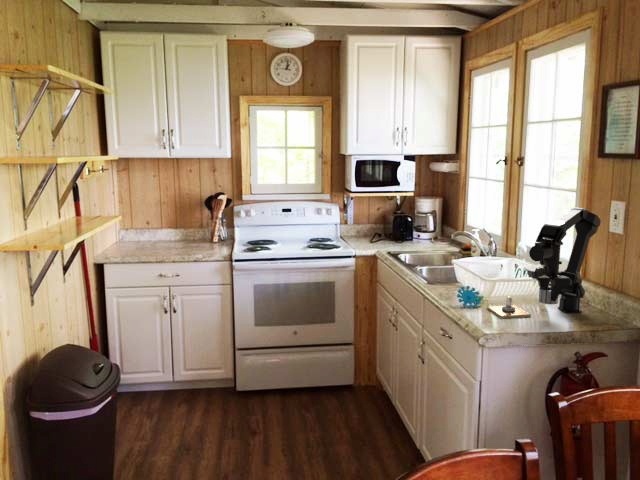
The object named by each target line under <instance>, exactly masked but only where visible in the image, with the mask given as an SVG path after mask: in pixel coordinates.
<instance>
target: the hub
mask: <svg viewBox="0 0 640 480" xmlns="http://www.w3.org/2000/svg"><path fill="white" fill-rule="evenodd" d="M538 289H539V291H538V292H539V293H538V302H539V303H541V304H544V305H557V304H559V303H558V302H559V296H558V297H557V299H556V301H552V296H551V287H550V286H548V287H540V286H539V288H538Z"/></svg>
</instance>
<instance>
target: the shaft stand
mask: <svg viewBox="0 0 640 480" xmlns="http://www.w3.org/2000/svg"><path fill="white" fill-rule="evenodd" d="M505 299H506V300H505V301H506V302H505V305H491V306H487V307H486V309H487V310H488V311H489V312H491V313H492V314H493V315H496V316H497V317H498V318H500V319H510V318H511V319H513V318H514V319H515V318H531V317H532V314H531V313H530V312H528V311H526V310H525V309H523V308H521V307H520V306H517V305H516V304H513V305H512V303H513V301H512V300H513V298H512V296H506V298H505Z"/></svg>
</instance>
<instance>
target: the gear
mask: <svg viewBox="0 0 640 480" xmlns="http://www.w3.org/2000/svg"><path fill="white" fill-rule="evenodd" d="M470 288H471V286H470V285H466V287H465V286H461V287H460V289H458V290H457V294H456V298H459V299H458V302H459V303H462V302H463V303H462V306H463V307H466V306H467V305H468V304H469V305H468V306H467V308H469V309H472V308H477V307H478V305H480V304H481V300H483V299H484V298H485V296H484V295H480V291H479V290H478V291H476V288H475V287H472V288H471V290H470ZM465 289H466V290H465ZM472 304H473V305H472Z"/></svg>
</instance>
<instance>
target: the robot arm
mask: <svg viewBox="0 0 640 480" xmlns="http://www.w3.org/2000/svg"><path fill="white" fill-rule="evenodd" d="M573 226H574V229H575V232H576V236H575V240H574V244H573V247H572V249H571V253H570V257H569V259H568V263H567V267H566V268H565V269H564V270H563V271H562V270H561V271H560V270H559V269H560V265H562V264H563V261H561V260H560V257H561V246H563V245H564V242H563V241H562V240H563V239H564V238H565V237H566V236H567V231H568V230H569V229H570V228H572V227H573ZM600 226H601V218H600V216H598V215H597V214H595V213H593V212H592V211H591V212H590V211H588V210H587V209H586V208H584V207H572V208H571V210H570V211H569V212H567V213H566V214H564V215H562V217H560V218H559V219H557V220H555V221H554V220H553V221H549V222H546V223H544V224H542V227H541V228H540V231H539V232H538V235H537V237H536V239H535V242H534V245H533V246H532V247H531V248H530V249H529V252H528V253H529V254H528V255H529V257H530V259H531V260H532V261H533V262H539V263H538V264H535V265H532V266H529V267H527V268H526V272H527V275H528V278H531V279H533V280H535V281H537V283H538V286H539V288H540V287H551V296H552V301H556V299H557V297H558V298H559V296H560V298H559V303H558V304H559V305H558V307H557V309H558V310H560V311H562V312H564V313H566V314H571V313H575V314H576V313H582V312H583V311H582V310H581V309H580V303H581V299H583V298H584V297H585V295H586V290H585V289H584V287H583V285H582V283H583V279H582V275H581V269H582V266H583V263H584V259H585V256H586V254H587V250H588V247H589V243H590V239H591V238H592V237H593V236H594V235H595V234H596V233H598V230H599V227H600Z"/></svg>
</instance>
